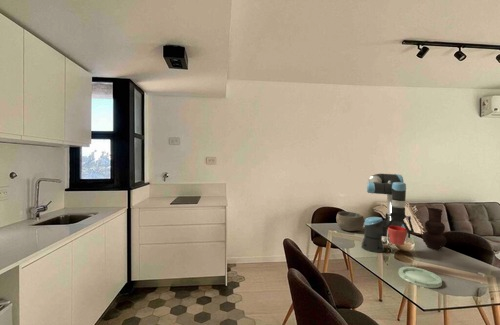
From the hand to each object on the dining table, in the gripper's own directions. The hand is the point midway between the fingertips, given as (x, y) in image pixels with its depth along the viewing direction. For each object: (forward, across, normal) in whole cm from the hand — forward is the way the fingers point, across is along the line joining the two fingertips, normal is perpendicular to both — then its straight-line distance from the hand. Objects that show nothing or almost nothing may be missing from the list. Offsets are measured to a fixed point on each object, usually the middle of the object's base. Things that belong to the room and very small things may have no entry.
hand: (397, 241), depth 155 cm
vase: (+16, +25, +49) cm, 57 cm away
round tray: (+15, +11, -15) cm, 24 cm away
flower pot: (+2, 0, 0) cm, 2 cm away
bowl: (+16, -37, +62) cm, 74 cm away
